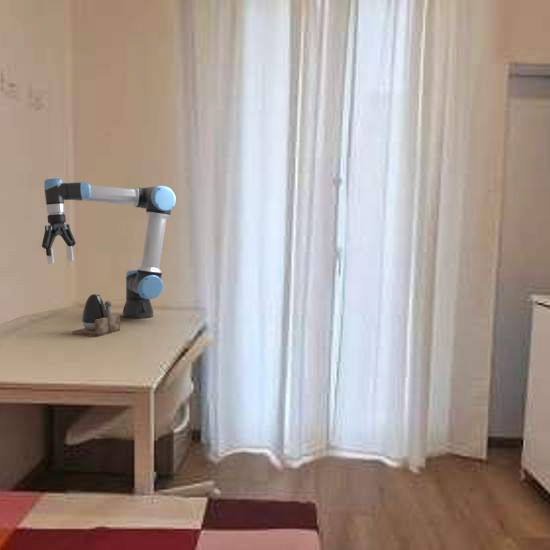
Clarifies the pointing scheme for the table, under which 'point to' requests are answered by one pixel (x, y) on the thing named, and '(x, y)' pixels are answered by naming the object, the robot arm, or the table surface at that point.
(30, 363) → the table surface
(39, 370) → the table surface
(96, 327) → the stand
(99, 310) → the pump dispenser
